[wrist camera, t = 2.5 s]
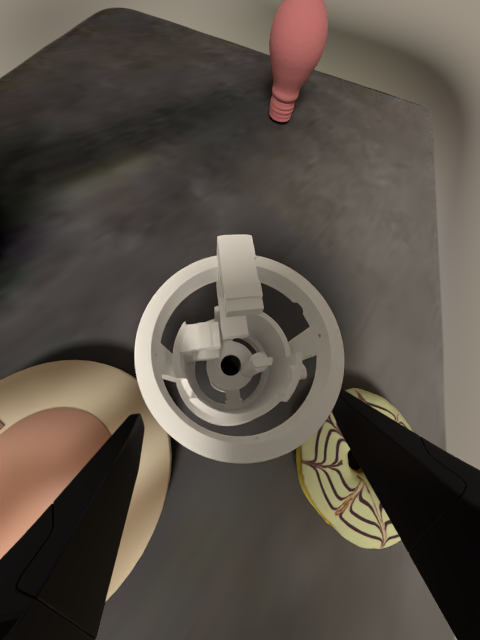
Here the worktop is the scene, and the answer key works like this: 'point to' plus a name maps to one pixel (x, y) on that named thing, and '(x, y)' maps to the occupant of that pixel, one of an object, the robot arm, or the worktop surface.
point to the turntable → (75, 448)
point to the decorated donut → (345, 482)
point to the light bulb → (295, 51)
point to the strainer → (239, 355)
